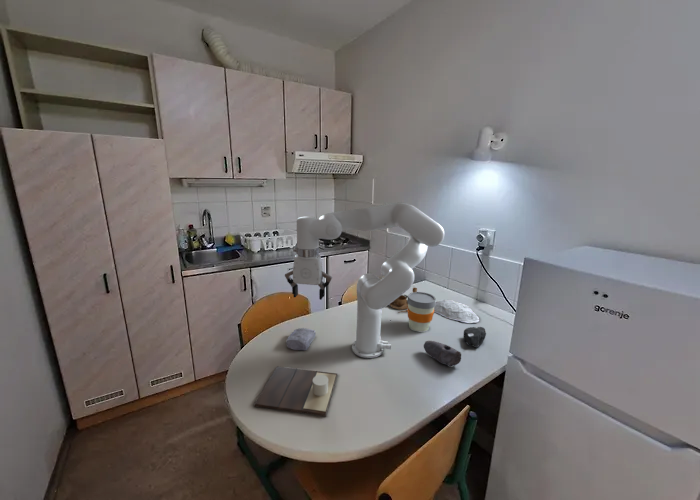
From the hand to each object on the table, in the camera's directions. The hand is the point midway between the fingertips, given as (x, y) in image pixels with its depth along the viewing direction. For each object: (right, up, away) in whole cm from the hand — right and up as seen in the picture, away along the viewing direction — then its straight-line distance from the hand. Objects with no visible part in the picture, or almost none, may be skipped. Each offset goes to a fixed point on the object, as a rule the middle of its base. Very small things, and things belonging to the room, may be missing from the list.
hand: (308, 297), depth 109 cm
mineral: (+68, -22, +19) cm, 74 cm away
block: (-5, -21, +15) cm, 26 cm away
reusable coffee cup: (+47, -19, +29) cm, 59 cm away
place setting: (+46, -13, +52) cm, 70 cm away
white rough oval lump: (+69, -15, +44) cm, 83 cm away
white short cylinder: (+6, -28, -13) cm, 31 cm away
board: (-1, -28, -12) cm, 31 cm away
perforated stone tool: (+50, -25, +6) cm, 56 cm away
